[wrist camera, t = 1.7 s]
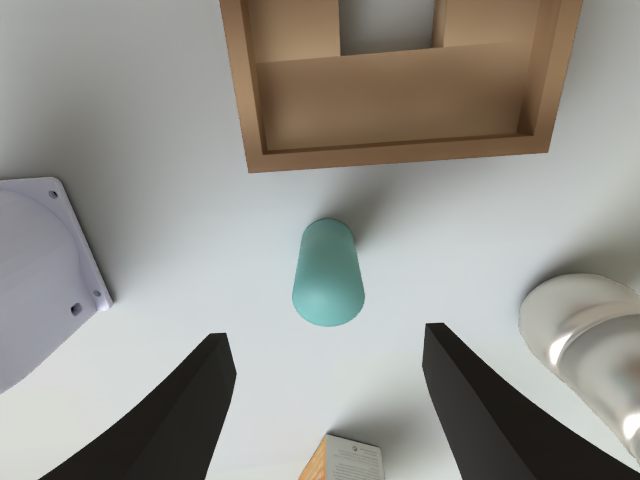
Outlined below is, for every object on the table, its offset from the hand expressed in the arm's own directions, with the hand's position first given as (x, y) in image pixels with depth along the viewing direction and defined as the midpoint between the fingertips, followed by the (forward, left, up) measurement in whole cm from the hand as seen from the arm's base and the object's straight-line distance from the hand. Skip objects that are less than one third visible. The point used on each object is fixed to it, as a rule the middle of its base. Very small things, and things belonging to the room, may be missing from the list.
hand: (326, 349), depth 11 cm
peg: (0, 0, -10) cm, 10 cm away
